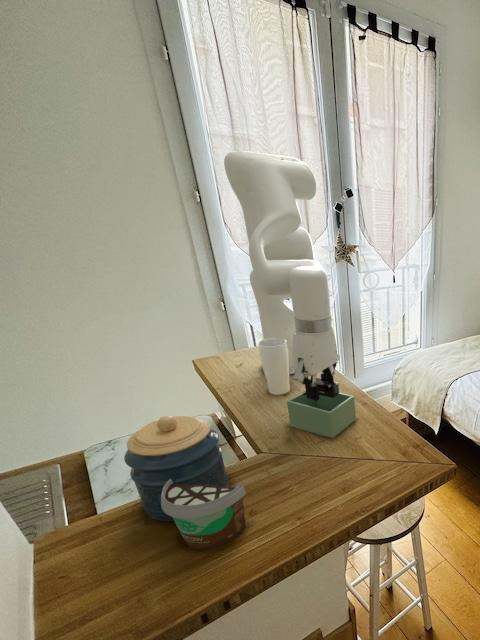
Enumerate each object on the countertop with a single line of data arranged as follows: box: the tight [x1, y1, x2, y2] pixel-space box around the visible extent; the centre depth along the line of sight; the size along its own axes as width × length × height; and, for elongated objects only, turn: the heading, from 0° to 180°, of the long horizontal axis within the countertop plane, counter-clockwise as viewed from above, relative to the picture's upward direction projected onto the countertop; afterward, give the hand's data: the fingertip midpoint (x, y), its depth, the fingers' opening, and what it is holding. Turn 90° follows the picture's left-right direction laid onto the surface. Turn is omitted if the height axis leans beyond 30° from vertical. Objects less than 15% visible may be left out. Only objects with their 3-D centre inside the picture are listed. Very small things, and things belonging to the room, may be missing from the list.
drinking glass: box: [257, 338, 291, 396], centre depth 109 cm, size 7×7×15 cm
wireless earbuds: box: [303, 377, 340, 398], centre depth 96 cm, size 5×7×3 cm, turn 77°
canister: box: [123, 415, 230, 522], centre depth 70 cm, size 13×13×18 cm
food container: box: [161, 479, 247, 550], centre depth 64 cm, size 12×6×10 cm, turn 91°
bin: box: [286, 389, 357, 439], centre depth 99 cm, size 9×12×7 cm
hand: (320, 393), depth 97 cm, fingers closed on wireless earbuds, 4 cm apart
